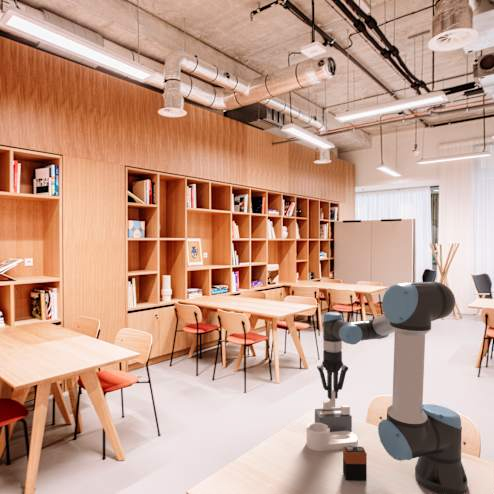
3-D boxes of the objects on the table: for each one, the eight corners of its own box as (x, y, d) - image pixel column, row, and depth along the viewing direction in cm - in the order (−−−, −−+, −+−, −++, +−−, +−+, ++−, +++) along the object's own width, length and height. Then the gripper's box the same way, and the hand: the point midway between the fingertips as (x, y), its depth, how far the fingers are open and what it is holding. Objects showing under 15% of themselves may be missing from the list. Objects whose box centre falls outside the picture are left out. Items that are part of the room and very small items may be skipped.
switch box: (351, 433, 155) (351, 415, 155) (319, 434, 154) (319, 417, 154) (345, 424, 163) (345, 407, 163) (314, 425, 162) (314, 408, 162)
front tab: (349, 414, 156) (349, 407, 156) (342, 414, 155) (342, 407, 155) (348, 412, 158) (348, 404, 158) (340, 412, 157) (340, 405, 157)
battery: (342, 473, 129) (342, 443, 129) (363, 473, 129) (363, 443, 129) (345, 481, 125) (345, 450, 124) (366, 481, 124) (366, 450, 124)
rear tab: (331, 409, 160) (331, 402, 160) (324, 409, 160) (324, 402, 160) (330, 407, 162) (330, 400, 162) (323, 407, 162) (323, 400, 162)
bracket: (311, 452, 142) (310, 434, 142) (303, 440, 150) (303, 423, 150) (361, 447, 145) (361, 429, 145) (351, 435, 154) (351, 419, 154)
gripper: (344, 347, 165) (344, 401, 165) (314, 347, 164) (315, 402, 165) (350, 352, 158) (350, 409, 158) (319, 352, 157) (319, 410, 157)
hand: (332, 406), depth 161 cm, fingers closed
